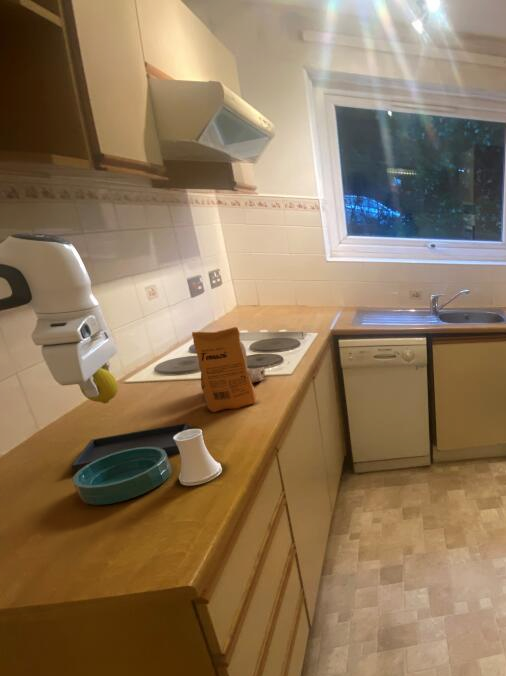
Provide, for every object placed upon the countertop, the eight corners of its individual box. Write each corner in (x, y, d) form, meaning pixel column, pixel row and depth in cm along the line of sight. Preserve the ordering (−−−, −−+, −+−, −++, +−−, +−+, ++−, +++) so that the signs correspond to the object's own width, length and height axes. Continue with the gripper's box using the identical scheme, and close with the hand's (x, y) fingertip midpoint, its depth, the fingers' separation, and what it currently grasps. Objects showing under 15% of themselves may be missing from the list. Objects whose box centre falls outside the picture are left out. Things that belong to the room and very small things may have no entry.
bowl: (69, 515, 81) (59, 495, 79) (96, 474, 93) (88, 456, 91) (164, 493, 87) (157, 475, 85) (178, 457, 99) (172, 440, 97)
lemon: (85, 411, 86) (69, 374, 83) (91, 401, 90) (76, 365, 87) (121, 405, 89) (107, 368, 85) (125, 395, 93) (112, 360, 90)
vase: (221, 479, 91) (208, 437, 87) (177, 489, 88) (162, 447, 84) (222, 461, 97) (210, 422, 93) (182, 471, 94) (167, 431, 90)
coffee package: (209, 401, 126) (187, 328, 118) (257, 392, 132) (239, 322, 123) (205, 415, 118) (181, 337, 110) (257, 405, 124) (238, 331, 115)
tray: (74, 473, 93) (71, 465, 92) (94, 446, 103) (91, 439, 102) (182, 452, 101) (179, 444, 100) (190, 429, 111) (188, 422, 110)
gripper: (74, 312, 90) (98, 374, 95) (25, 339, 73) (58, 412, 78) (113, 309, 93) (134, 370, 98) (74, 335, 76) (103, 406, 81)
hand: (100, 389), depth 88 cm, fingers closed on lemon, 5 cm apart
